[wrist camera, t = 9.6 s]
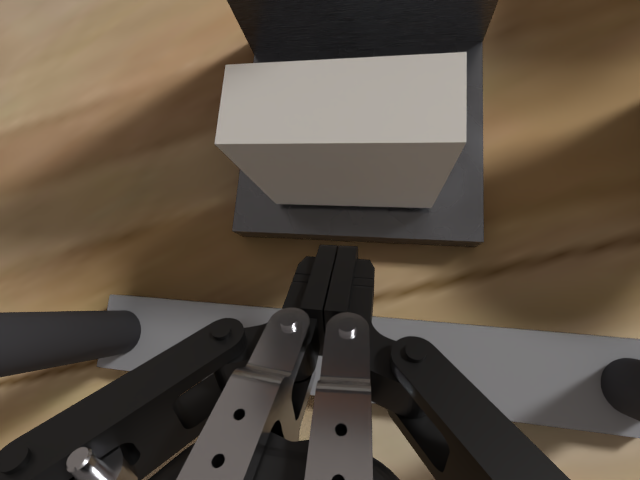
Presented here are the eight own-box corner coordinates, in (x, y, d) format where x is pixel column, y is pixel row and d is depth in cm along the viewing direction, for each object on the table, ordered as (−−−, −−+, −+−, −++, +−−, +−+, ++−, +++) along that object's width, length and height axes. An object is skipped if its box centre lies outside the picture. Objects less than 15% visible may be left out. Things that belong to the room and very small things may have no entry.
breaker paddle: (431, 208, 17) (466, 141, 10) (276, 204, 18) (214, 143, 11) (432, 151, 17) (466, 51, 11) (281, 151, 19) (225, 64, 12)
